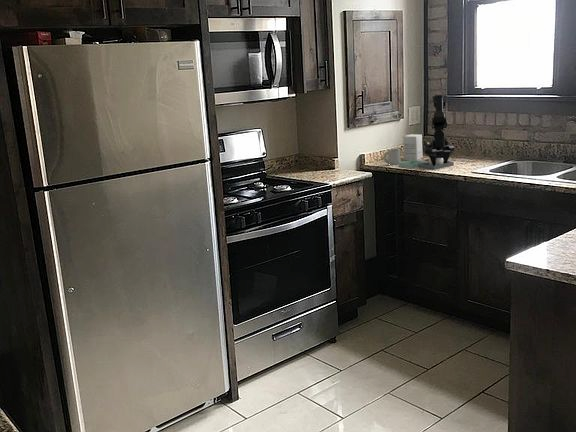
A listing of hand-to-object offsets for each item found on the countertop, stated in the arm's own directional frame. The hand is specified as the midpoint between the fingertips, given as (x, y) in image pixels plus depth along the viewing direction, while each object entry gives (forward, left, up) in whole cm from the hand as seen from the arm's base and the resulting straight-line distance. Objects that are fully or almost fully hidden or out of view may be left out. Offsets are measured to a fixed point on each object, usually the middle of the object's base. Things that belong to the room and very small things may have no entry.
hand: (439, 165), depth 359 cm
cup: (+8, -31, -2) cm, 32 cm away
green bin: (+7, -15, -2) cm, 17 cm away
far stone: (0, -5, -1) cm, 6 cm away
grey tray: (0, -3, -2) cm, 3 cm away
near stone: (0, 0, -1) cm, 1 cm away
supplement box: (-14, -35, -2) cm, 37 cm away
